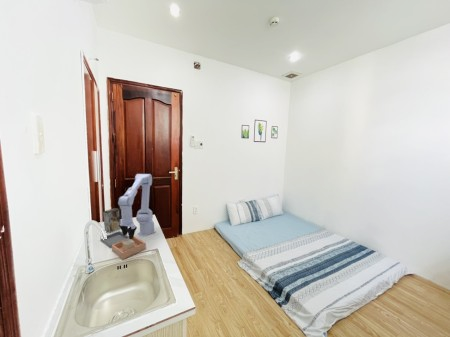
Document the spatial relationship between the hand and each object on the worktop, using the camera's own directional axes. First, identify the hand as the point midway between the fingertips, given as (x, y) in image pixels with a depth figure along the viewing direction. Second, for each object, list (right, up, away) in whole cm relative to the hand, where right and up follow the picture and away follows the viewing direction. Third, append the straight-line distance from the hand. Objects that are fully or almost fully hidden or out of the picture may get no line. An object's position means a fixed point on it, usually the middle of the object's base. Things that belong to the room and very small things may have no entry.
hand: (128, 236), depth 117 cm
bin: (0, -9, +1) cm, 9 cm away
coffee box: (-25, -5, +27) cm, 38 cm away
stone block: (0, -8, +1) cm, 8 cm away
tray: (-14, -7, +12) cm, 20 cm away
